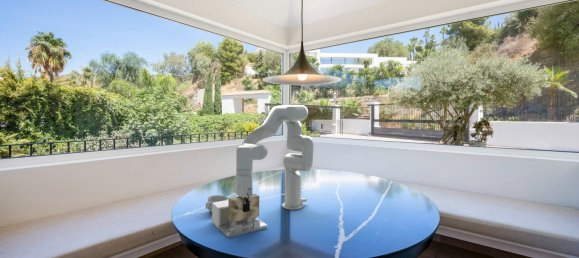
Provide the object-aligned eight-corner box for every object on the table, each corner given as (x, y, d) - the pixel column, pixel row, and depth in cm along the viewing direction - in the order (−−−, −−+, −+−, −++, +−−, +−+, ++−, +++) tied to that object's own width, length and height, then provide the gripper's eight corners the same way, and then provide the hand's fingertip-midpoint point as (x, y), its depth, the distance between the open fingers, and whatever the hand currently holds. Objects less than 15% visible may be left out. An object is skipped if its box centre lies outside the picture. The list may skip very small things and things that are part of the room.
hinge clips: (255, 220, 147) (255, 211, 146) (267, 228, 137) (267, 218, 136) (218, 228, 136) (218, 219, 135) (227, 237, 126) (227, 227, 125)
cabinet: (248, 214, 154) (248, 196, 154) (255, 220, 147) (256, 201, 146) (212, 222, 143) (212, 202, 142) (218, 228, 136) (218, 207, 135)
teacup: (219, 207, 166) (219, 193, 165) (231, 211, 159) (231, 197, 158) (198, 213, 155) (198, 199, 154) (210, 218, 148) (210, 203, 148)
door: (255, 213, 140) (255, 193, 140) (260, 217, 136) (260, 196, 135) (228, 219, 132) (228, 198, 132) (232, 223, 128) (232, 201, 127)
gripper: (230, 169, 138) (230, 206, 139) (244, 176, 124) (244, 217, 125) (244, 168, 142) (244, 203, 143) (259, 174, 128) (259, 214, 129)
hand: (244, 209), depth 134 cm, fingers closed on door, 4 cm apart
